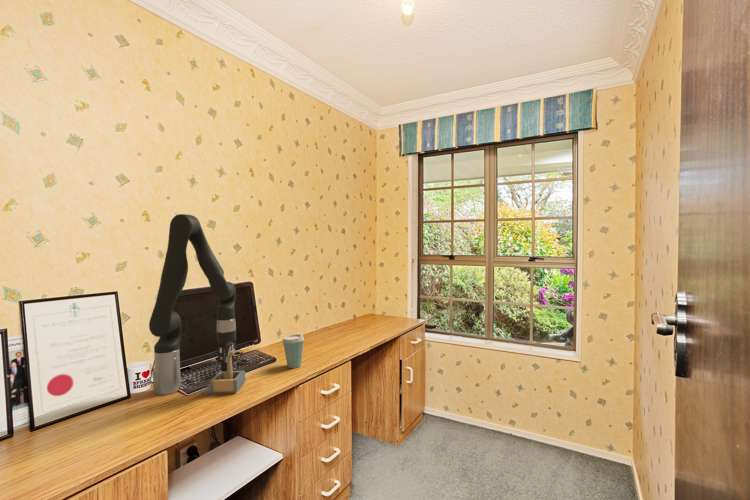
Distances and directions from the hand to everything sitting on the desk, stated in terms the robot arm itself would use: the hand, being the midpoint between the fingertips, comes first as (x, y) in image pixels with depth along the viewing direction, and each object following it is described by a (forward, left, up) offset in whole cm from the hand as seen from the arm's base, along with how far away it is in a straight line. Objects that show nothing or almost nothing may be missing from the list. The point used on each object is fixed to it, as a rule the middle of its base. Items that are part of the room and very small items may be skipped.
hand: (227, 367), depth 156 cm
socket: (-2, 0, -9) cm, 9 cm away
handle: (0, 0, -8) cm, 8 cm away
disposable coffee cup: (+23, +26, -9) cm, 36 cm away
